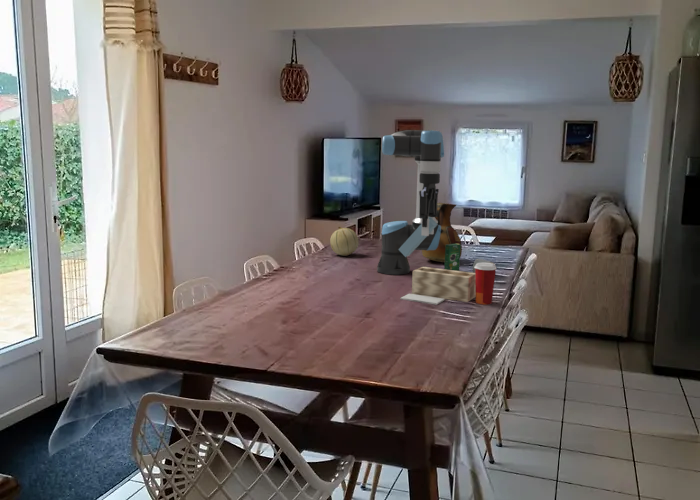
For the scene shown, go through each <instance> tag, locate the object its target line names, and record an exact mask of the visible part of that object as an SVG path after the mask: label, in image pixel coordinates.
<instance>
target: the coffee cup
mask: <svg viewBox="0 0 700 500" xmlns="http://www.w3.org/2000/svg"><path fill="white" fill-rule="evenodd" d="M493 263H494V262H492V263H477V264H476V265H475V267H474V268H475V285H476V297H475V304H477V305H483V306H484V305H485V306H487V305H491V304H492V303H493V296H494V287H495V280H496V270H497V267H496V264H495V263H494V264H493Z"/></svg>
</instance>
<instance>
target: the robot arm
mask: <svg viewBox="0 0 700 500" xmlns="http://www.w3.org/2000/svg"><path fill="white" fill-rule="evenodd" d="M381 144H382V146H381V149H382V150H381V152H382V154H383V155H384V156H402V157H411V158H412V157H413V158H414V162H415V163H416V164H417V174H416V175H417V176H416V178H417V179H416V181H417V183H416V205H415V206H416V207H415V208H416V210H415V218H414V219H412V224H409V223H408V220H396V221H390V222H389V221H388V222H385V223H384V224H383V225H382V229H381V255H380V258H379V261H378V263H377V268H376V270H377V272H378V273H380V274H385V275H391V276H392V275H393V276H396V275H406V274H409V273H410V272H411V266H410V263H409V259H408V256H407V257H405V256H404V255H403V254H402V253H401V252H400V251H399V250H398V249H399V248H400V247H401V246H402V245H403V244H404V243H405V242H406V240H407V239H408V238H409V237H410V236H411V235H412V234H413V233H414V231H415V230H416V229H417V228H418V227H419V226H420V225H421V224H422V231H421V235H422V236H427V237H426V238H425V239H424V240H423V241H422V242H421V243H420V244H419V246H418V247H417V248H416V249H415V250H414V251H422V250H426V251H428V250H436V249H437V247H438V244H439V239H440V232H441V226H440V225H437V226H436V227H435V228H434V229H433V230H432V231H431V232H430V233H429V219H428V217H431V218H432V219H433V220H434V221H435V222H436V223H437V224H438V221H437V220H436V219H435V217H437V215H436V214H437V203H438V200H439V199H438V197H439V190H440V189H438V188H437V185H438V184H440V179H441V174H440V172H441V159H442V158H444V157H445V147H444V145H445V144H444V137H443V133H442V132H441V131H440V130H432V129H431V130H429V129H428V130H427V129H426V130H423V129H421V130H415V129H413V130H412V129H411V130H410V129H406V130H400V131H396V132H394V133H392V134H389V135H384V136H383V137H382V143H381Z"/></svg>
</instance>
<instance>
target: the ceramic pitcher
mask: <svg viewBox="0 0 700 500" xmlns="http://www.w3.org/2000/svg"><path fill="white" fill-rule="evenodd" d="M456 206H457V204H452V203H443V202H441V201H440V202H437V214H436V215H437V217H435V219H436V220H437V221H438V225H440V226H441V232H440V239H439V244H438V247H437V249H436V250H428V251H426V250H421V254H422V255H421V256H423V258H425V259H428V260H430V261H435V262H440V263H445V247H446V245H447V244H461V248H460V258H461V257H462V253H463V252H462V251H463V245H462V240H461V237H460V235H459V234H458V232H457V230H456V229H455V228H454V227H453V226H452V223H451V215H452V211H453V209H455V208H456Z"/></svg>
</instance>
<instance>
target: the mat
mask: <svg viewBox="0 0 700 500" xmlns="http://www.w3.org/2000/svg"><path fill="white" fill-rule="evenodd" d="M400 300H402V301H403V300H404V301H410V302H415V303H423V304H429V305H436V306H437V305H439V304H441V303H442V302H444V301H445V300H446V299H443V298H436V297H429V296H423V295H416V294H412V293H407V294H406V295H404V296H401V297H400Z"/></svg>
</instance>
